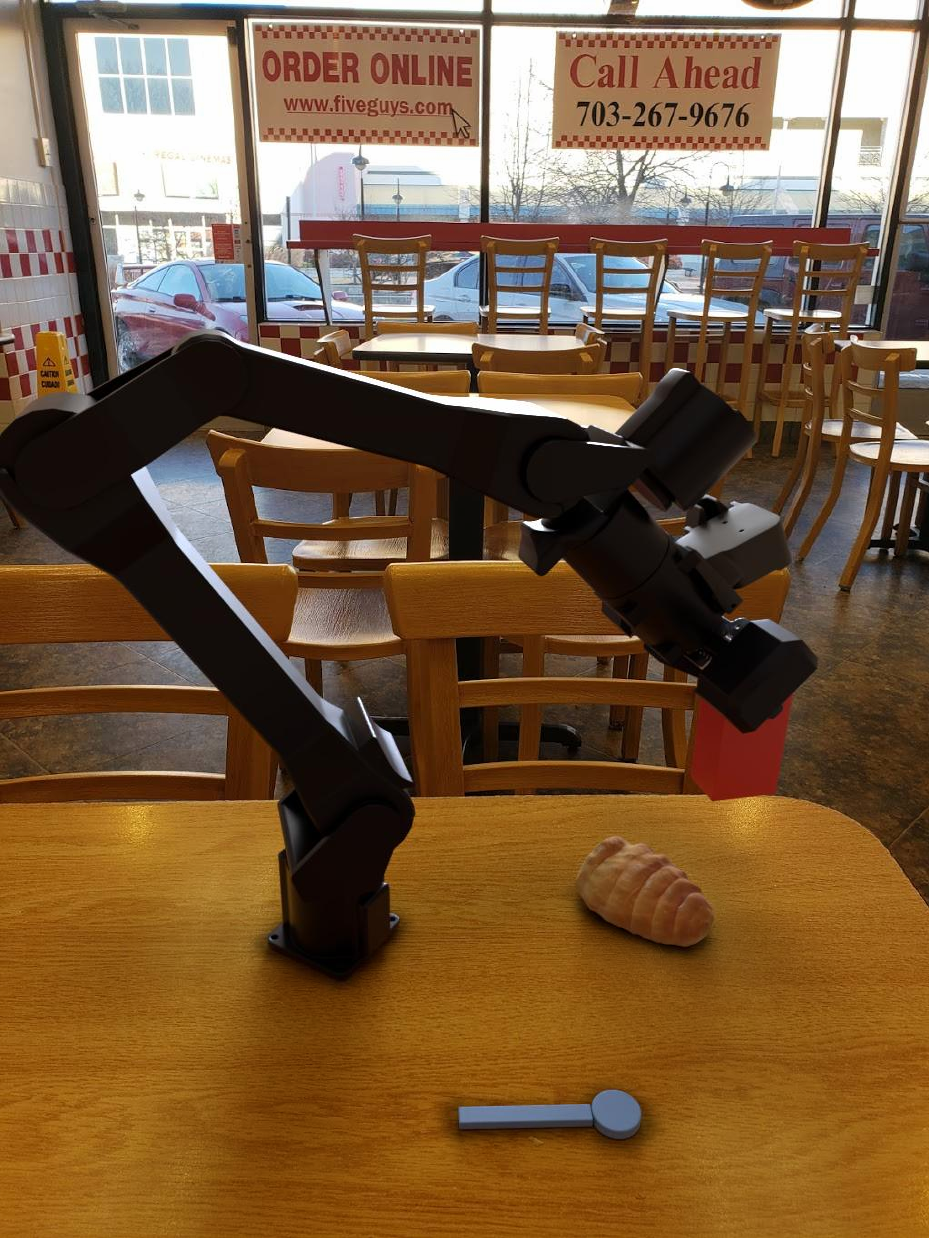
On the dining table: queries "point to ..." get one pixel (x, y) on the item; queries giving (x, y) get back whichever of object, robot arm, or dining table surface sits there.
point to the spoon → (561, 1115)
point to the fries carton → (737, 755)
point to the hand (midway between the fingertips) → (762, 701)
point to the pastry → (643, 893)
